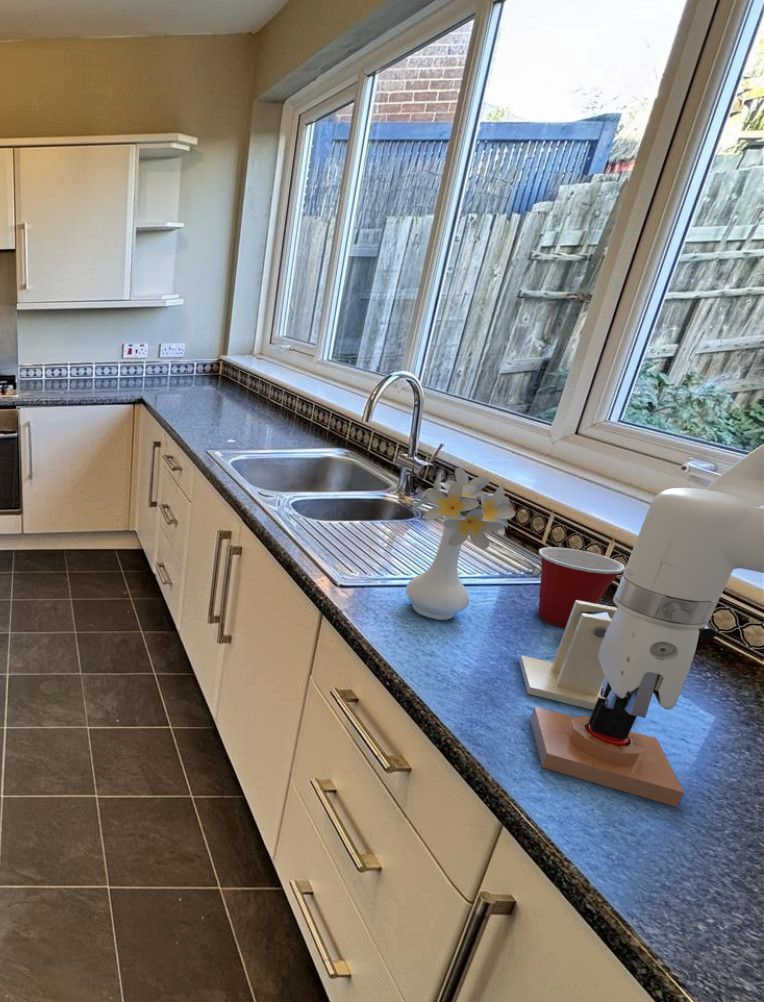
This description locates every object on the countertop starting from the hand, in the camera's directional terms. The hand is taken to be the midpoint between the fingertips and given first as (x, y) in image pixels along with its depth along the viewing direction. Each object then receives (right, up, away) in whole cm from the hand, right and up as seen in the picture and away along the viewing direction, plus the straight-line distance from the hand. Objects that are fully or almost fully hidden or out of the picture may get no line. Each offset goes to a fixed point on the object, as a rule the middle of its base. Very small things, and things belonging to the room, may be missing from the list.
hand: (606, 731), depth 75 cm
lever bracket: (+9, +1, +14) cm, 17 cm away
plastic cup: (+22, +8, +32) cm, 39 cm away
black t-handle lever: (+12, +11, +8) cm, 18 cm away
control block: (0, -4, +2) cm, 4 cm away
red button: (0, -2, +1) cm, 2 cm away
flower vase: (+3, +9, +34) cm, 35 cm away
